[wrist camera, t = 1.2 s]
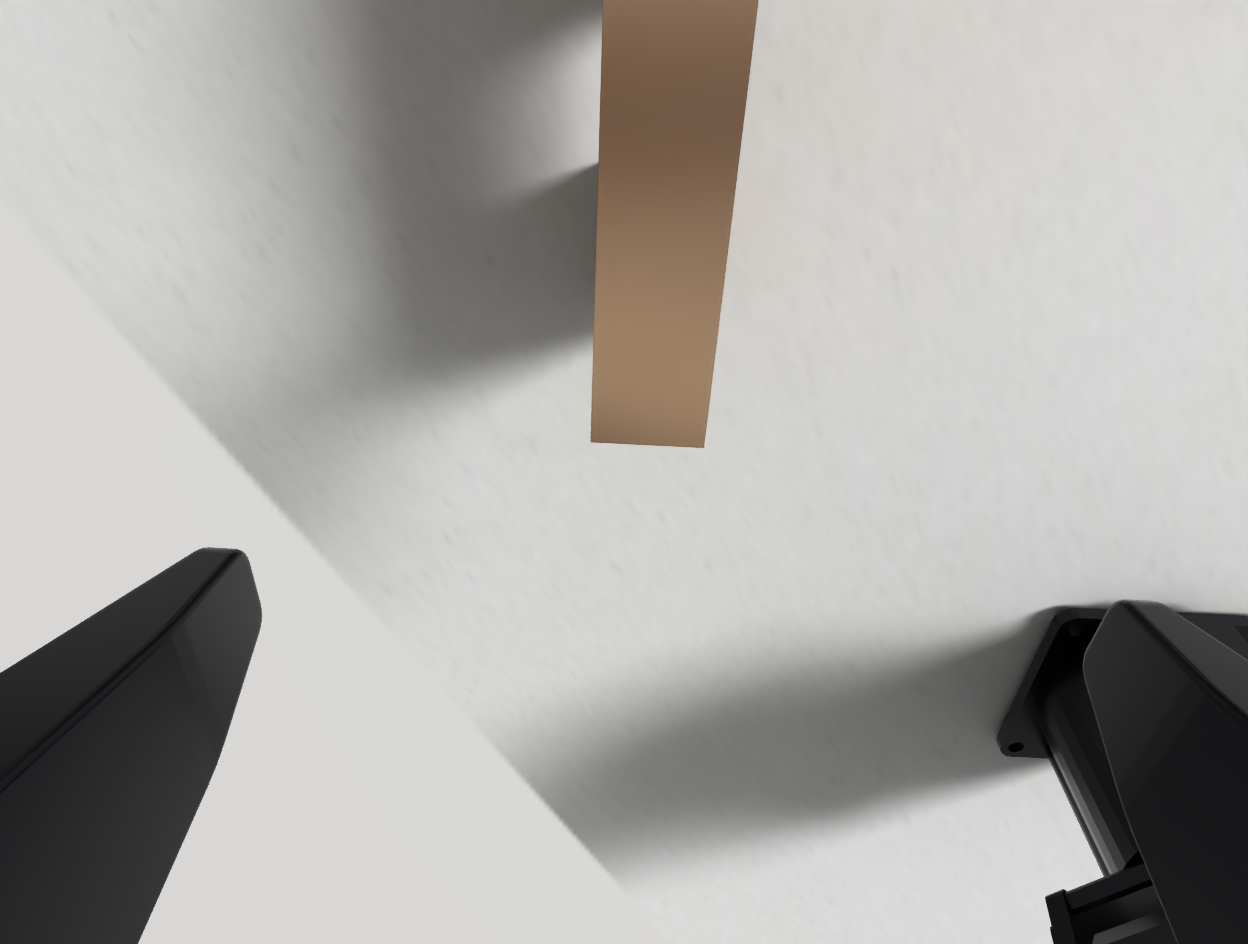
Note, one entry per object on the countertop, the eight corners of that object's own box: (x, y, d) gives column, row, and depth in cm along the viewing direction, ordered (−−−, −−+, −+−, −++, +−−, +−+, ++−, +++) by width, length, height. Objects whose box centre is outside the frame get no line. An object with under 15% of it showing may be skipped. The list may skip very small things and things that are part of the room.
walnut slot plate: (688, 307, 20) (703, 448, 15) (604, 303, 20) (590, 442, 15) (743, -251, 14) (798, -330, 9) (623, -258, 14) (612, -341, 9)
